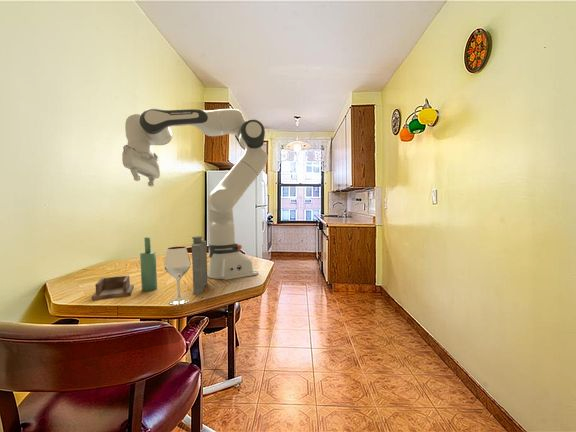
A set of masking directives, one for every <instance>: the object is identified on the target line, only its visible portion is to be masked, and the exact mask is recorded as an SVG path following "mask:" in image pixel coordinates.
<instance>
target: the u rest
mask: <svg viewBox="0 0 576 432" xmlns="http://www.w3.org/2000/svg"><path fill="white" fill-rule="evenodd" d="M130 281H131V280H130V275H129V274H128V275H120V276H109V277H100V278H99V280H98V281H97V282H96V284H95V292H94V293H93V295H91V300H92V301H95V300H102V299H111V298H112V297H113V298H121V297H128V296H131V295H132V294H133V293H132V292H133V291H134V287H135V285H134V284H130V283H131V282H130ZM132 290H133V291H132Z"/></svg>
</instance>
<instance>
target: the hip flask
mask: <svg viewBox="0 0 576 432" xmlns="http://www.w3.org/2000/svg"><path fill="white" fill-rule="evenodd" d="M191 239H192V242H193V243H191V262H192V265H191V266H192V288H193V295H202V294H203V290H204V288H205V287H206V286H207V285H208V284H209V281H208V280H209V277H208V275H207V274H208V253H207V252H208V251H207V240H202V239H203V236H200V235H199V236H192V238H191ZM205 285H206V286H205ZM204 286H205V287H204ZM201 293H202V294H201Z"/></svg>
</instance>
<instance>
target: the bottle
mask: <svg viewBox="0 0 576 432" xmlns="http://www.w3.org/2000/svg"><path fill="white" fill-rule="evenodd" d="M143 238H144V252H140V254H139V258H140V259H139V261H140V279H141V291H142V292H152V291H154V290H155V291H156V290H157V289H158V273H157V254H156V253H157V252H156V251H152V250H151V248H152V247H151V237H150V236H148V237H147V236H145V237H143Z"/></svg>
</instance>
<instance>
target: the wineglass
mask: <svg viewBox="0 0 576 432" xmlns="http://www.w3.org/2000/svg"><path fill="white" fill-rule="evenodd" d="M189 255H190V254H189V251H188V249H187V246H172V247H167V249H166V253H165V259H164V263H163V267H164V270H165V271H166V272H167V273H168V274H169V275H170V276H172V278H174V279H175V281H176V286H177V298H175V299H174V298H173V299H171V300H169V301H168V304H169V305H173V306H177V305H178V306H179V305H184V304H187V303H189V302H190V299H189V298H186V297H181V285H180V283H181V282H180V281H181V278H182V277H184V275H185V274H187V273H188V271H190V268H191V266H192V265H191V262H192V261H191V259H190V256H189Z"/></svg>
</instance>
